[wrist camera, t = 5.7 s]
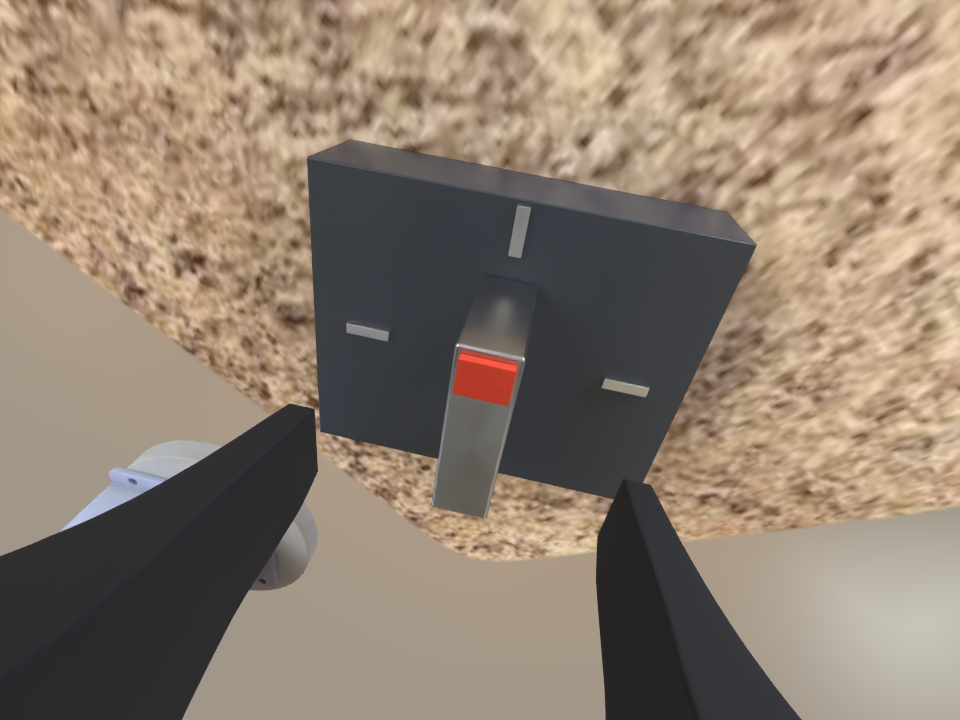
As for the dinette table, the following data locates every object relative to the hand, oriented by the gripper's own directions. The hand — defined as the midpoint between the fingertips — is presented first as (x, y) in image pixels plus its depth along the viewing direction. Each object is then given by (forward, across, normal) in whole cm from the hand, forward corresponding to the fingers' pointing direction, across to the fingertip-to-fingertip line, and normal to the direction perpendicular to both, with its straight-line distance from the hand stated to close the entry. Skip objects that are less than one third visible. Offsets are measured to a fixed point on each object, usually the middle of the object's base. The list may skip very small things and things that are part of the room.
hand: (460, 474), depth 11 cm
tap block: (+8, 0, 0) cm, 8 cm away
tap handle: (+5, 0, 0) cm, 5 cm away
